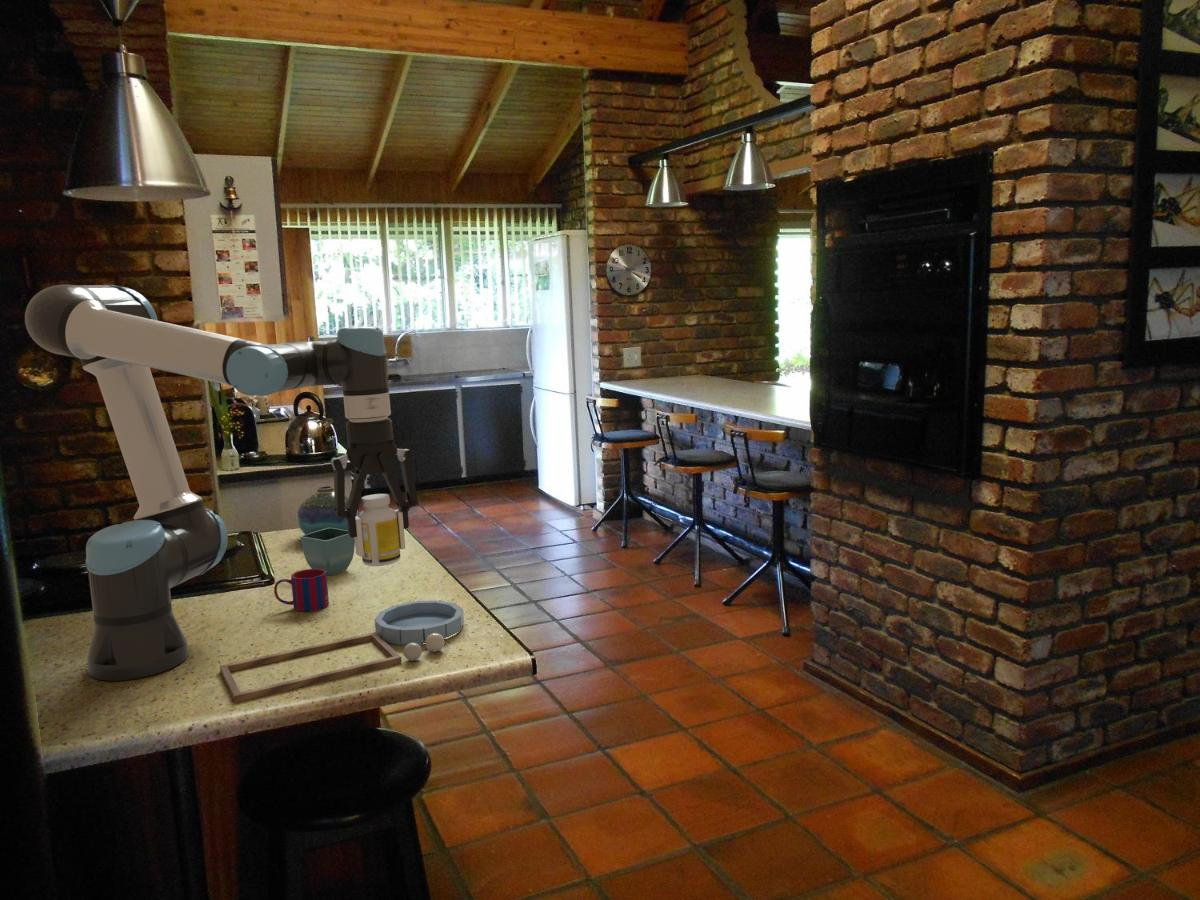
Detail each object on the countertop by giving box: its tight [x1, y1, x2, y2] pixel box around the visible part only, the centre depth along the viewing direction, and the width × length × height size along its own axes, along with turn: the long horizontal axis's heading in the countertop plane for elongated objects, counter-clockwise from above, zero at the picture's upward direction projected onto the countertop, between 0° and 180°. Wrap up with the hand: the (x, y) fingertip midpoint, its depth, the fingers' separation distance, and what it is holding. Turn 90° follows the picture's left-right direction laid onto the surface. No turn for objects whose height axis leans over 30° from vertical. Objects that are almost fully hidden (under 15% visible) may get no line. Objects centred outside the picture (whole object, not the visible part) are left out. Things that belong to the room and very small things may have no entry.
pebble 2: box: [425, 633, 446, 653], centre depth 151 cm, size 3×3×3 cm
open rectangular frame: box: [219, 631, 403, 703], centre depth 146 cm, size 26×14×1 cm, turn 121°
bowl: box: [374, 599, 465, 646], centre depth 162 cm, size 15×15×3 cm
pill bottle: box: [358, 493, 401, 567], centre depth 152 cm, size 6×6×12 cm
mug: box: [273, 568, 330, 613], centre depth 176 cm, size 7×10×7 cm
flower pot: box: [299, 528, 355, 577], centre depth 199 cm, size 9×9×9 cm
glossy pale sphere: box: [403, 642, 423, 662], centre depth 148 cm, size 3×3×3 cm
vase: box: [296, 485, 359, 535], centre depth 230 cm, size 15×15×13 cm
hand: (380, 550), depth 153 cm, fingers closed on pill bottle, 6 cm apart
